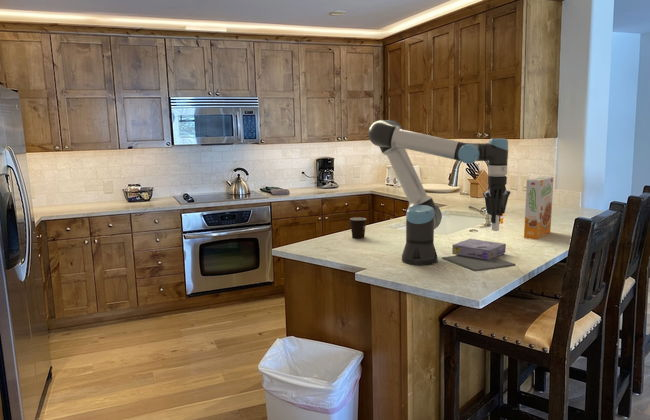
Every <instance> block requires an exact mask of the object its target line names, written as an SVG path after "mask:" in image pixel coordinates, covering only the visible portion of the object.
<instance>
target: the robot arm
mask: <svg viewBox="0 0 650 420" xmlns="http://www.w3.org/2000/svg"><path fill="white" fill-rule="evenodd" d="M367 135H368V136H367V137H368V140H369V141H370V142H371V144H373V145H374V146H377V147H379V149H380V151H381V154H382V155H384V156H387V159H388V160H389V163H390V165H391V167H392V168H393V172H394V173H395V176H396V179H397V180H398V182H399V184H400V186H401V188H402V190H403V193H404V194H405V196H406V199H407V201H408V208H407V210H406V214H405V221H406V223H405V226H406V227H405V235H406V236H405V238H406V239H405V246H404V248H403V251H402V254H401V262H403V263H405V264H409V265H413V266H430V265H435V264H437V263H438V254H437V250H436V248H435V244H434V241H435V240H434V239H435V237H434V236H435V235H434V234H435V230H436V229H438V227H439V225H441V221H442V218H443V216H442V215H443V213H442V211H441V209H440V208H439V207H438V206H437V205H436V203H435V201H434V199H433V197H431V196H429V195H427V192H426V191H425V190H426V189H425V188H424V186H423V184H422V182H421V179H420V177H419V176H418V173H417V170H416V169H415V166H414V165H413V163H412V160H411V158H410V155H409V154H408V152H407V150H411V151H413V152H418V153H425V154H428V155H433V156H436V157H442V158H445V159H450V160H453V161H454V160H455V161H457V162H461V163H464V164H468V165H469V164H473V163H475V162H488V168H487V174H488V177H487V184H488V188H487V190H486V192H485V191H484V192H483V193H482V195H483V197H484V202H485V208H486V214H488V215H489V216H490V223H491V231H495V232H499V230H500V223H501V216H503V215H504V214H505V213H506V209H507V204H508V201H509V197H510V194H511V190H507V188H506V185H507V183H508V182H507V181H508V180H507V179H508V176H507V174H508V159H509V140H508V139H507V138H498V137H497V138H490V139H489V141H488V142H485V143H484V142H483V143H479V142H477V143H475V142H472V143H471V142H462V141H457V140H453V139H448V138H443V137H439V136H433V135H430V134H425V133H421V132H416V131H411V130H407V129H403V128H402V126H401V124H400V123H398V122H397V121H395V120H392V119H386V120H385V119H379V120H376V121H374V122H373V123H372V124H370V126H369V128H368V134H367Z"/></svg>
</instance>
